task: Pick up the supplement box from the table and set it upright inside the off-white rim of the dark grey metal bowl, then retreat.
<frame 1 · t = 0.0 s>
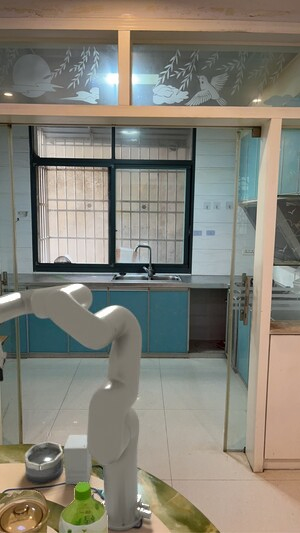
supplement box: (79, 477, 119), on the table
bowl: (44, 471, 121), on the table
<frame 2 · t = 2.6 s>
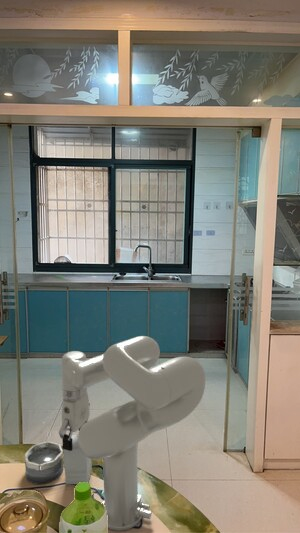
hand: (75, 440, 118), 12 cm above the table, tool pointing down, fingers open, 9 cm apart
supplement box: (79, 477, 119), on the table, touching gripper
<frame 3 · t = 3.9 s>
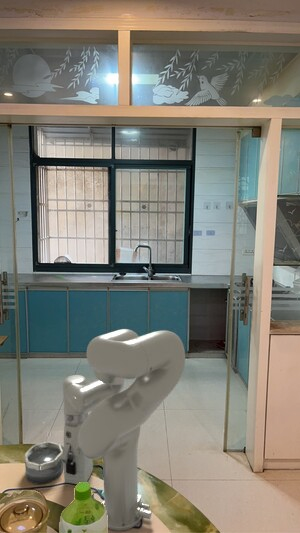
hand: (78, 464, 118), 4 cm above the table, tool pointing down, fingers closed on supplement box, 8 cm apart
supplement box: (78, 476, 119), on the table, touching gripper
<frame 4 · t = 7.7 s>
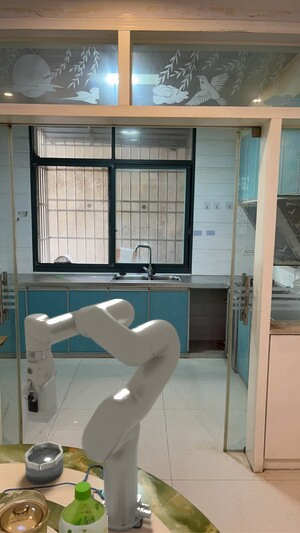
hand: (41, 404, 118), 24 cm above the table, tool pointing down, fingers closed on supplement box, 7 cm apart
supplement box: (42, 417, 118), point 20 cm above the table, touching gripper
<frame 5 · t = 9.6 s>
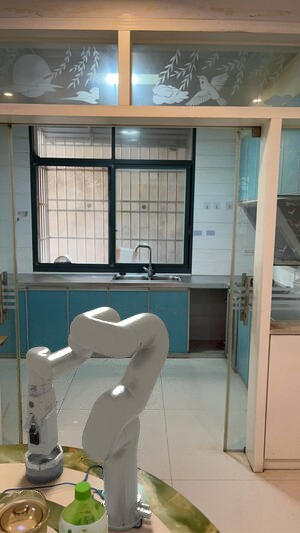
hand: (42, 435, 119), 13 cm above the table, tool pointing down, fingers closed on supplement box, 7 cm apart
supplement box: (43, 448, 120), point 8 cm above the table, touching gripper
when the fingers open (10 cm above the table, at t = 11.3 s): supplement box stays where it is, resting on bowl.
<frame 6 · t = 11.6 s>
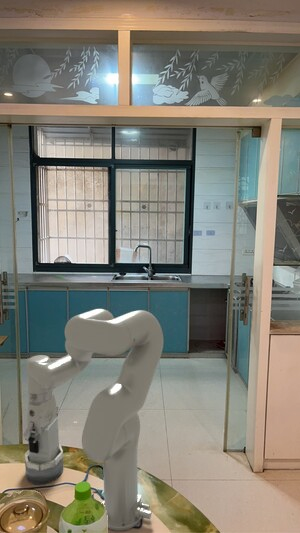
hand: (43, 443, 120), 10 cm above the table, tool pointing down, fingers open, 9 cm apart
supplement box: (44, 458, 120), point 5 cm above the table, touching bowl
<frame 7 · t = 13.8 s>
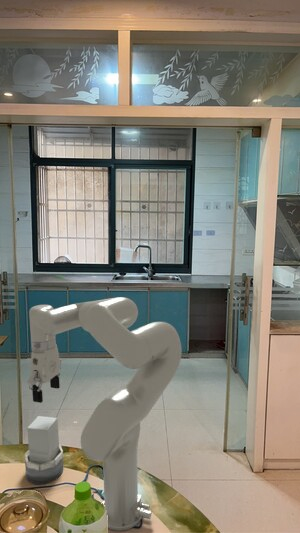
hand: (46, 394, 118), 27 cm above the table, tool pointing down, fingers open, 9 cm apart
nothing on the table moved.
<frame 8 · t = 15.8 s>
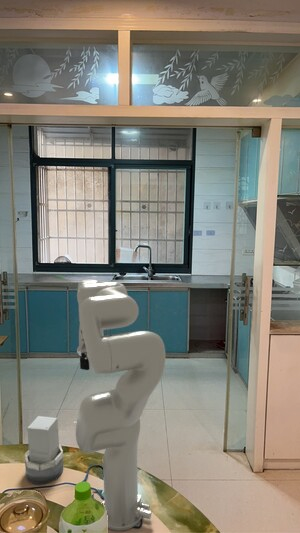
hand: (91, 363, 126), 33 cm above the table, tool pointing down, fingers open, 9 cm apart
nothing on the table moved.
at the end: supplement box 0.2 cm off-centre on the bowl, point 4.8 cm above the bowl's base; supplement box tilted 0°; the gripper is holding nothing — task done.
